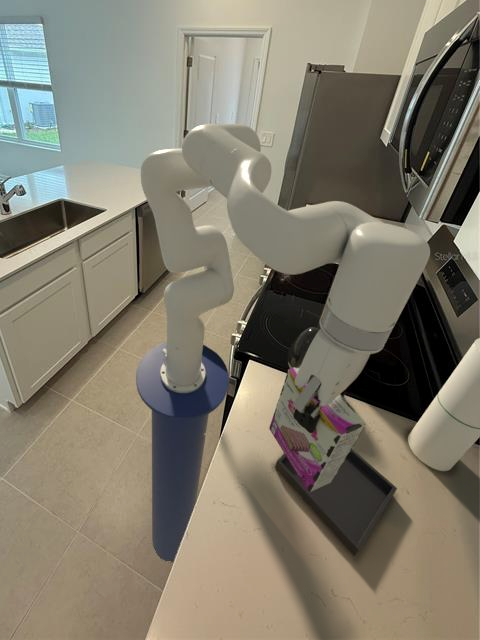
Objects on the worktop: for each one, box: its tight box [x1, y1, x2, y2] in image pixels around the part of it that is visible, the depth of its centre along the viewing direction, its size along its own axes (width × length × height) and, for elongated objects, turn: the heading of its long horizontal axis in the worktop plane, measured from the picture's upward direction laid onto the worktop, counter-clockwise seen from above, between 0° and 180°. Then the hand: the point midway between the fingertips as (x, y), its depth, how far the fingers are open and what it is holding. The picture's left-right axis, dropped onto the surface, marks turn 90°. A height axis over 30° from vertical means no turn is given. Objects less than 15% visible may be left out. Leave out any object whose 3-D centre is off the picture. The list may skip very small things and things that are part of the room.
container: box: [407, 337, 480, 472], centre depth 62 cm, size 9×9×30 cm
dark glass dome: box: [286, 326, 321, 369], centre depth 82 cm, size 10×10×15 cm
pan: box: [274, 447, 398, 557], centre depth 62 cm, size 17×15×3 cm
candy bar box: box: [268, 366, 367, 493], centre depth 48 cm, size 11×5×16 cm, turn 22°
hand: (316, 411), depth 47 cm, fingers closed on candy bar box, 5 cm apart
